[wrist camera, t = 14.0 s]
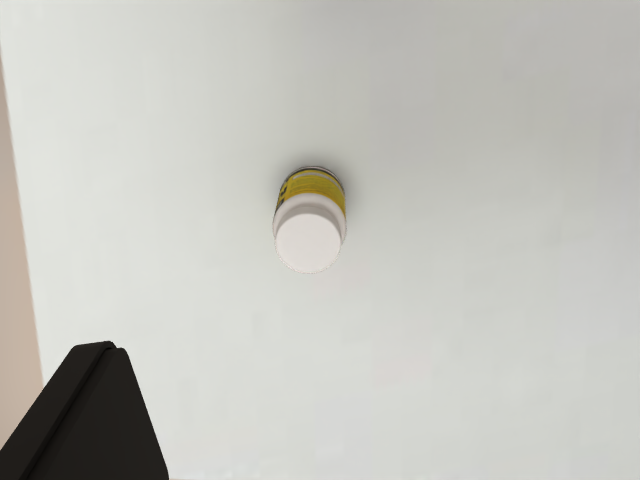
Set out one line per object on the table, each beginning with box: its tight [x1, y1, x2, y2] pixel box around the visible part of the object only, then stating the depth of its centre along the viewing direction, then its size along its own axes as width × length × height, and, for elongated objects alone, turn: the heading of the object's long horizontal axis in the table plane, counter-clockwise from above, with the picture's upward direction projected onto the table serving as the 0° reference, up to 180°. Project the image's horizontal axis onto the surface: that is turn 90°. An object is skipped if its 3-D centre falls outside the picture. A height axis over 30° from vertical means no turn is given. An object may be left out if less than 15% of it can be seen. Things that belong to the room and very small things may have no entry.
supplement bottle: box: [273, 167, 347, 273], centre depth 40 cm, size 5×5×8 cm
